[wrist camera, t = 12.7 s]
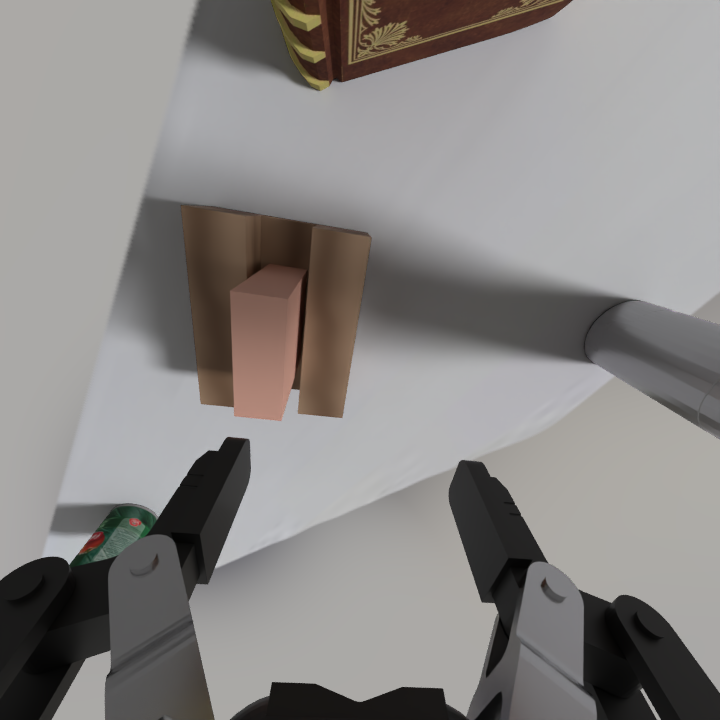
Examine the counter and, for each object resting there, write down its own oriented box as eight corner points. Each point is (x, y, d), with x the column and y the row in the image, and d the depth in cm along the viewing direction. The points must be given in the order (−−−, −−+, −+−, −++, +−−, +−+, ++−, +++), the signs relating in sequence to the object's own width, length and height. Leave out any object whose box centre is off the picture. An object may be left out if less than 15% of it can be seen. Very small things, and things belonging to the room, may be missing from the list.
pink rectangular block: (307, 269, 32) (287, 299, 21) (300, 359, 36) (281, 420, 26) (269, 263, 31) (229, 290, 21) (267, 355, 36) (234, 416, 25)
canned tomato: (107, 500, 48) (46, 574, 39) (158, 506, 49) (112, 579, 40) (113, 530, 52) (59, 605, 42) (161, 535, 53) (119, 608, 43)
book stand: (366, 232, 32) (371, 237, 26) (342, 388, 40) (342, 417, 35) (212, 206, 30) (180, 205, 24) (222, 375, 39) (200, 403, 33)
